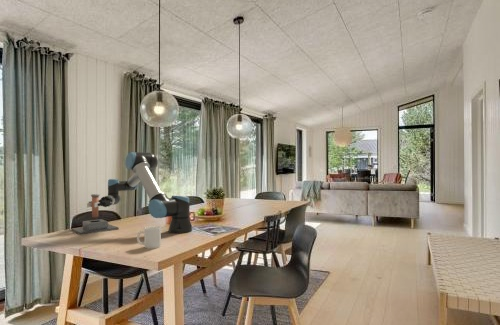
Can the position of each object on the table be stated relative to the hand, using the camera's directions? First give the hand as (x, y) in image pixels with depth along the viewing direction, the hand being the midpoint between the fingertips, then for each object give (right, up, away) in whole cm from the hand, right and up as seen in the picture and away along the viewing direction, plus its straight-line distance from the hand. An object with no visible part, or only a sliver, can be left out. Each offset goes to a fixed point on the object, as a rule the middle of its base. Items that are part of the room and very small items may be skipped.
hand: (91, 205), depth 211 cm
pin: (0, -9, +5) cm, 10 cm away
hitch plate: (0, -17, +5) cm, 18 cm away
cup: (+51, -17, -41) cm, 67 cm away
